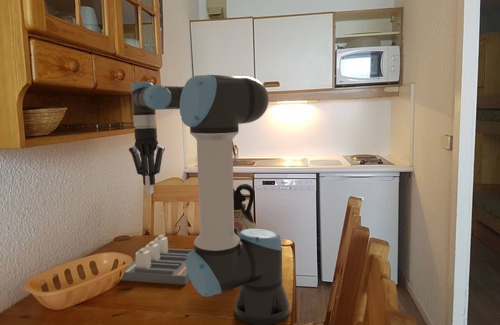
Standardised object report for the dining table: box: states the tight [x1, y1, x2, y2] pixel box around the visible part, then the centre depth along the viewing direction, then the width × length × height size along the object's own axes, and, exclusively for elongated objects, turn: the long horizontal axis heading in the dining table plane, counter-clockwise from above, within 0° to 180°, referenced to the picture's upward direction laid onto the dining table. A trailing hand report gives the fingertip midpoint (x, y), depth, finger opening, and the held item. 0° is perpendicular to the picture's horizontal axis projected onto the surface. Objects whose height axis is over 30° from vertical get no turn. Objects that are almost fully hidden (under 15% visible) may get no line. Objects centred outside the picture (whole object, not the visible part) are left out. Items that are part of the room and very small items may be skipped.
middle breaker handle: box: [144, 240, 160, 260], centre depth 135 cm, size 3×4×7 cm
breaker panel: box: [121, 248, 194, 286], centre depth 135 cm, size 22×24×4 cm
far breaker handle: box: [153, 234, 169, 253], centre depth 142 cm, size 3×4×7 cm
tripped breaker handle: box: [135, 247, 151, 268], centre depth 128 cm, size 3×4×7 cm
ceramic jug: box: [233, 183, 259, 236], centre depth 139 cm, size 17×15×30 cm
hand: (150, 193), depth 131 cm, fingers closed
